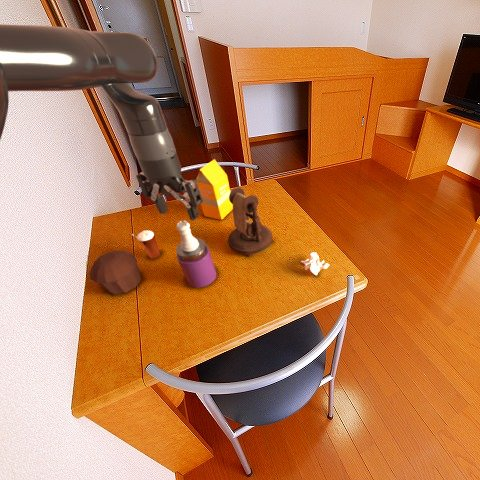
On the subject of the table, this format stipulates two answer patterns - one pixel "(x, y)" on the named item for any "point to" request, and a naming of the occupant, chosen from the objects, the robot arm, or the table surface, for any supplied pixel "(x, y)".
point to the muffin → (116, 272)
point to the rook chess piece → (187, 237)
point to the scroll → (247, 225)
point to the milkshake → (148, 243)
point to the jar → (199, 270)
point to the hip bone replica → (314, 264)
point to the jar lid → (192, 252)
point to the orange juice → (214, 191)
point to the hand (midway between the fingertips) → (179, 215)
